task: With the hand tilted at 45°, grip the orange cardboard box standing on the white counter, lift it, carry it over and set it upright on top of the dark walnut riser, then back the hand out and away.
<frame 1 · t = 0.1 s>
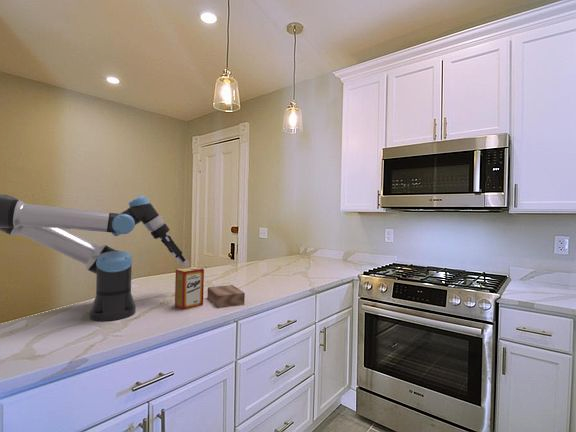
hand: (184, 264, 142), 15 cm above the worktop, tool tilted 35°, fingers open, 13 cm apart
orange cardboard box: (189, 306, 129), on the worktop
walnut riser: (225, 301, 137), on the worktop
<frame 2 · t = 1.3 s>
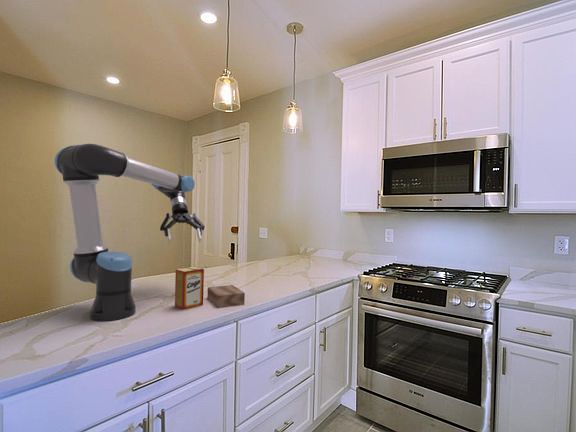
hand: (185, 240, 140), 27 cm above the worktop, tool tilted 45°, fingers open, 13 cm apart
nothing on the worktop moved.
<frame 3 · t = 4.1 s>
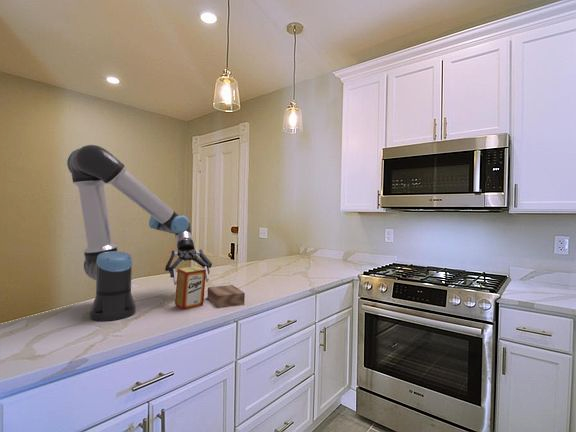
hand: (192, 281, 132), 10 cm above the worktop, tool tilted 45°, fingers open, 13 cm apart
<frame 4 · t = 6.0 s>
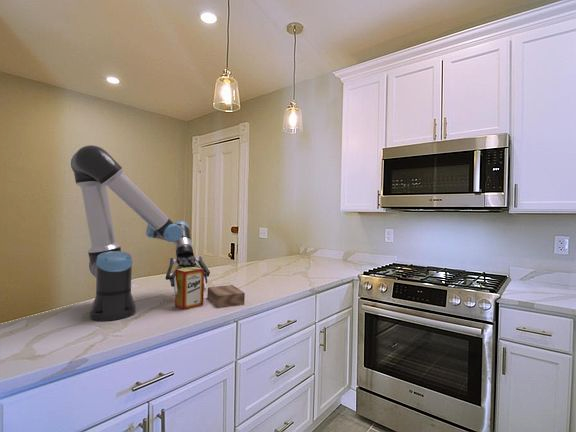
hand: (191, 291, 127), 7 cm above the worktop, tool tilted 45°, fingers closed on orange cardboard box, 11 cm apart
orange cardboard box: (189, 306, 129), on the worktop, touching gripper
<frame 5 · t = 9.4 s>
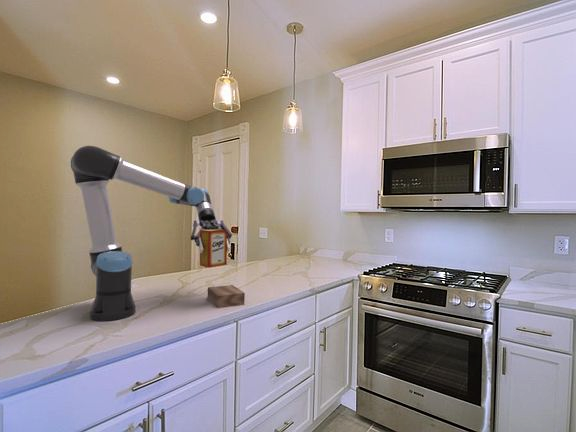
hand: (215, 250, 132), 23 cm above the worktop, tool tilted 45°, fingers closed on orange cardboard box, 11 cm apart
orange cardboard box: (213, 265, 134), point 16 cm above the worktop, touching gripper
when the fingers open (13 cm above the worktop, at t = 13.1 s): orange cardboard box drops 1 cm, resting on walnut riser.
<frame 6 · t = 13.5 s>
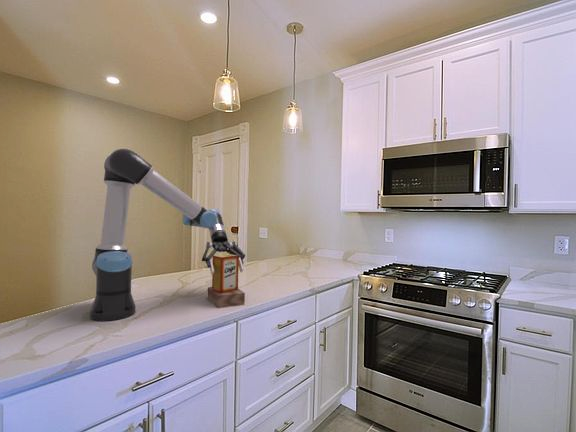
hand: (227, 271, 135), 14 cm above the worktop, tool tilted 45°, fingers open, 13 cm apart
orange cardboard box: (225, 290, 137), point 5 cm above the worktop, touching walnut riser
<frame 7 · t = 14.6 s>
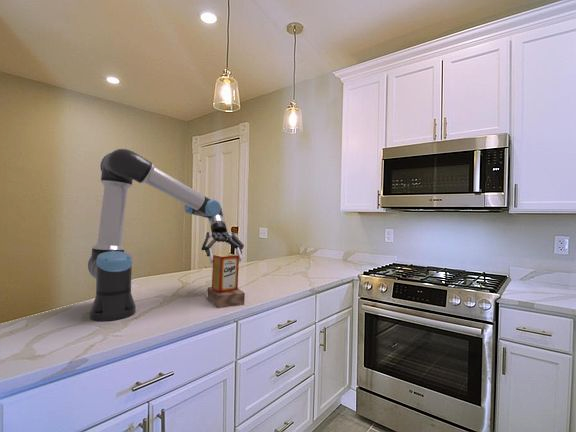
hand: (226, 260, 140), 18 cm above the worktop, tool tilted 45°, fingers open, 13 cm apart
nothing on the worktop moved.
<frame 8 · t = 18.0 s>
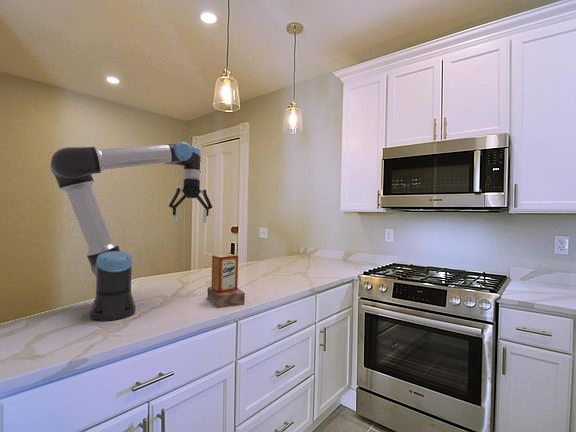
hand: (190, 222, 147), 35 cm above the worktop, tool pointing down, fingers open, 13 cm apart
nothing on the worktop moved.
at the end: orange cardboard box inside the target area on the walnut riser (0.6 cm from its centre), point 4.8 cm above the walnut riser's base; orange cardboard box tilted 0°; the gripper is holding nothing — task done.
